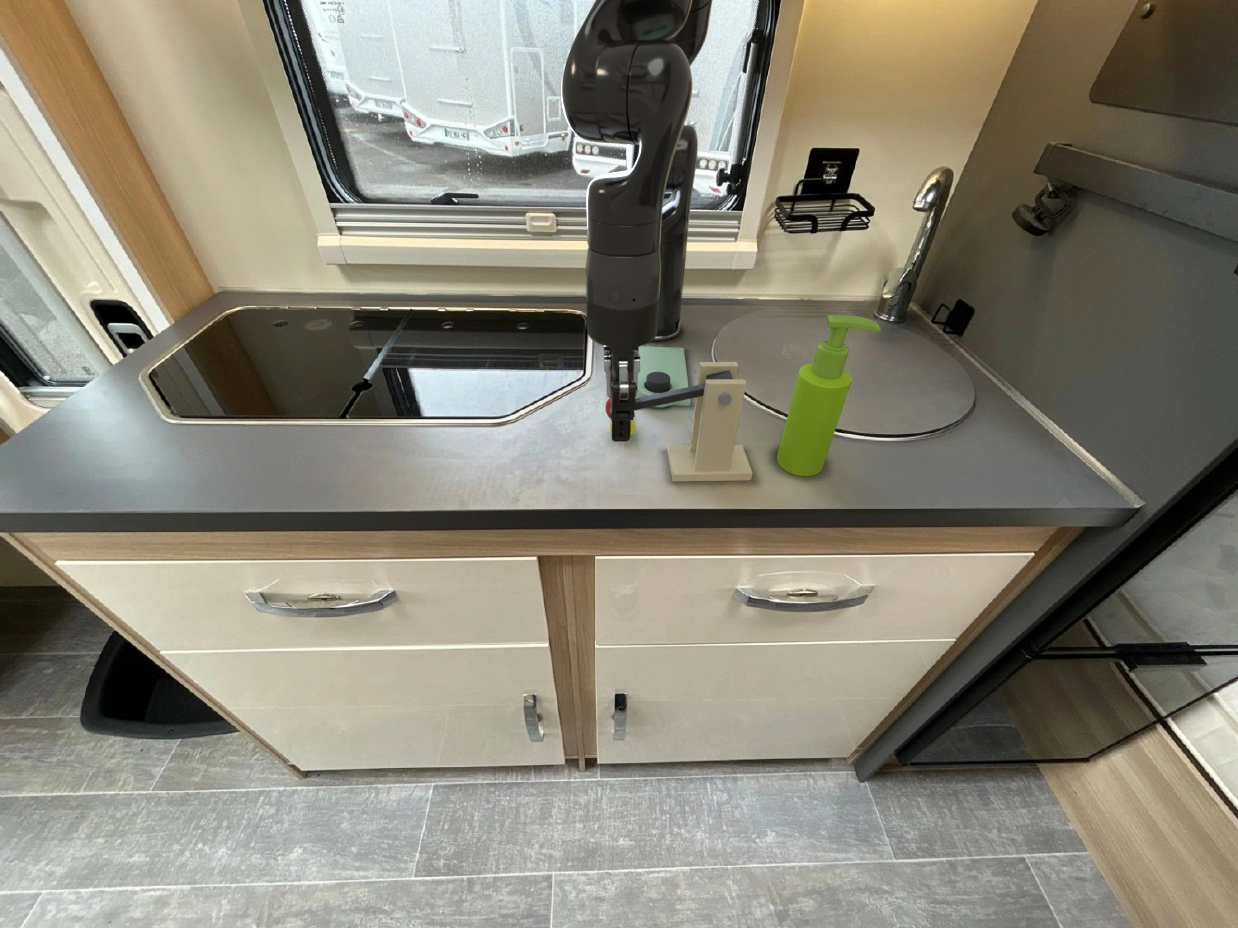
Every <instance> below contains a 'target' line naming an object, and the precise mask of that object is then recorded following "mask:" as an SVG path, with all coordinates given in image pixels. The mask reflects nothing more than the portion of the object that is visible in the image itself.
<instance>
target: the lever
mask: <svg viewBox="0 0 1238 928" xmlns="http://www.w3.org/2000/svg"><path fill="white" fill-rule="evenodd" d="M718 379H733V378H732V375H731V373H730V370H728V371H724V372H719V373H715V374H710V375H706V380H718ZM704 389H705V384H701V385H697V384H696V385H692V386H688V387H687V388H682V389H677V390H673V391H668V392H664V393H659V394H654V395H650V396H645V397H640V398H636V399H635V409H634V412H636V411H638V410H643V409H647V408H648V409H650V408H655V407H654V406H658V405H663V404H668V403H672V402H677V401H682V400H687V399H690V400H691V399H695V398H696V397H701V396H704ZM604 409H605V413H606V415H607V418H609V420H610V421H611V420H612V419H611V417H610V409H611V399H610V398H609V397H608V399H607V400H606V403H605V407H604Z"/></svg>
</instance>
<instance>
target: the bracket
mask: <svg viewBox="0 0 1238 928" xmlns="http://www.w3.org/2000/svg"><path fill="white" fill-rule="evenodd" d="M739 366H740V365H739V363H738V362H737V361H700V362H699V367H698V375H697V383H696V385H701V384H705V389H704V396H701V397H696V398H694V407H693V415H692V423H691V431H690V438H689V445H688V444H687V445H685V444H683V445H667V449H666V451H667V458H668V465H669V470H670V475H671V480H672V483H673V482H676V483H677V482H678V483H679V482H729V481H732V482H734V481H735V482H737V481H738V482H739V481H752V478H753V470H752V468H751V465H750V462H749V460H748V457H747V455H746V452H745V449H744V447H743V444H736V441H737V440H736V439H737V434H738V429H739V425H740V419H741V414H742V410H743V409H742V408H743V403H744V398H745V392H746V387H747V381H746V380H745V378H741V379H740V378H739V379H738V378H737V377H738V371H739ZM728 370H730V373H731V375H732V378H733V379H718V380H706V375H710V374H715V373H719V372H724V371H728Z"/></svg>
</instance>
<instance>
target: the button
mask: <svg viewBox="0 0 1238 928" xmlns="http://www.w3.org/2000/svg"><path fill="white" fill-rule="evenodd" d="M670 379H671V378H670V376H669V375H668V374H666V373H663V372H652V373H649V374H648V375H647V377H646V389H647V390H648V391H651V392H654V393H664V392H667V391H668V390H669V389H670Z"/></svg>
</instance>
